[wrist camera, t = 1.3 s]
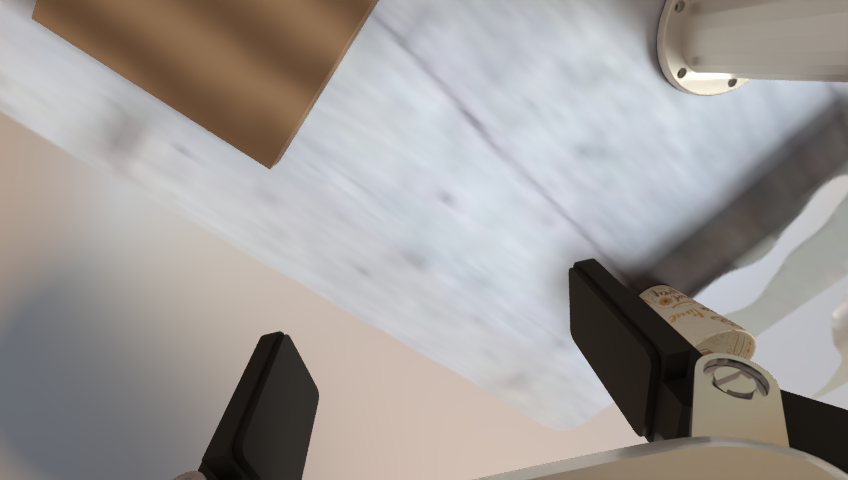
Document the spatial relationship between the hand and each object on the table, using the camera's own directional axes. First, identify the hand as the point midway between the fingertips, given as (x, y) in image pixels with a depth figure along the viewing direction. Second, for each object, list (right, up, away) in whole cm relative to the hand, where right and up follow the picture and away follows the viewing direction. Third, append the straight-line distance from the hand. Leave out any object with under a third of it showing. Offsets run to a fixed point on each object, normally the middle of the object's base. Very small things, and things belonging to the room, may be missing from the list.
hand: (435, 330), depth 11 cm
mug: (+29, -7, +35) cm, 47 cm away
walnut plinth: (-16, +22, +16) cm, 31 cm away
